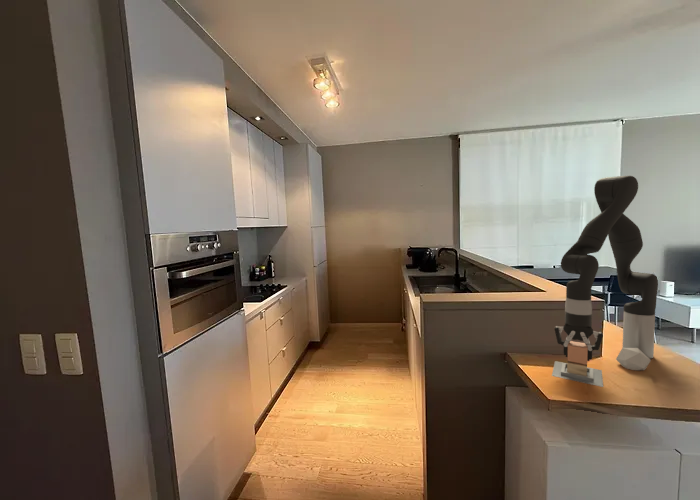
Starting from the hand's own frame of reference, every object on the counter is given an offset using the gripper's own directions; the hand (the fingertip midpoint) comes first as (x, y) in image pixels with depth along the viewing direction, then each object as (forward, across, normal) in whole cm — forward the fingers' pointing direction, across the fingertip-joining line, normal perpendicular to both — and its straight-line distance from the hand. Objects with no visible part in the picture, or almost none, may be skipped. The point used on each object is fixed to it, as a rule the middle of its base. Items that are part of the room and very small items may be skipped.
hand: (577, 358), depth 110 cm
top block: (+1, 0, 0) cm, 1 cm away
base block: (+5, 0, 0) cm, 5 cm away
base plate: (+7, 0, 0) cm, 7 cm away
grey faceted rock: (+7, -16, -16) cm, 24 cm away
